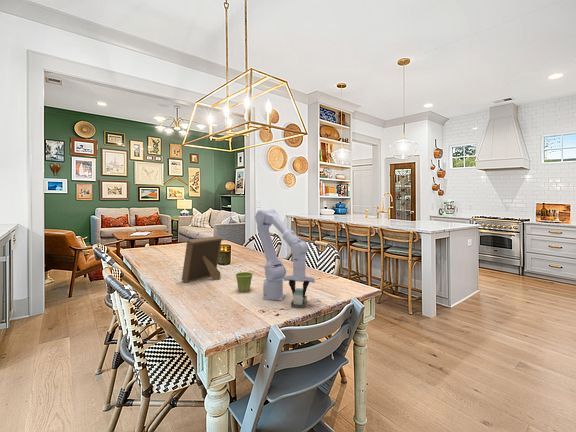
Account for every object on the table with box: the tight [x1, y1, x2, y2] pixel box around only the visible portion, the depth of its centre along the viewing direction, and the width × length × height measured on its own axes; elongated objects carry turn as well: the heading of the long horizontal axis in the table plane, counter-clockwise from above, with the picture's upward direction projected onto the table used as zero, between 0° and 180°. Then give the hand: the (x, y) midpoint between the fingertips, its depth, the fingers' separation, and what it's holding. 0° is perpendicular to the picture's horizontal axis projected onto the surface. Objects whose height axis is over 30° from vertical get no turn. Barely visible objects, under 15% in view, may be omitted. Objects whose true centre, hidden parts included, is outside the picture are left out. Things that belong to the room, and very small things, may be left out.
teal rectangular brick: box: [292, 287, 305, 305], centre depth 139 cm, size 4×8×5 cm, turn 168°
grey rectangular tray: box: [290, 295, 308, 309], centre depth 140 cm, size 6×11×2 cm, turn 168°
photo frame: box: [181, 235, 222, 283], centre depth 178 cm, size 15×22×25 cm
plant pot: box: [234, 271, 254, 293], centre depth 159 cm, size 9×9×9 cm
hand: (299, 296), depth 139 cm, fingers closed on teal rectangular brick, 4 cm apart
